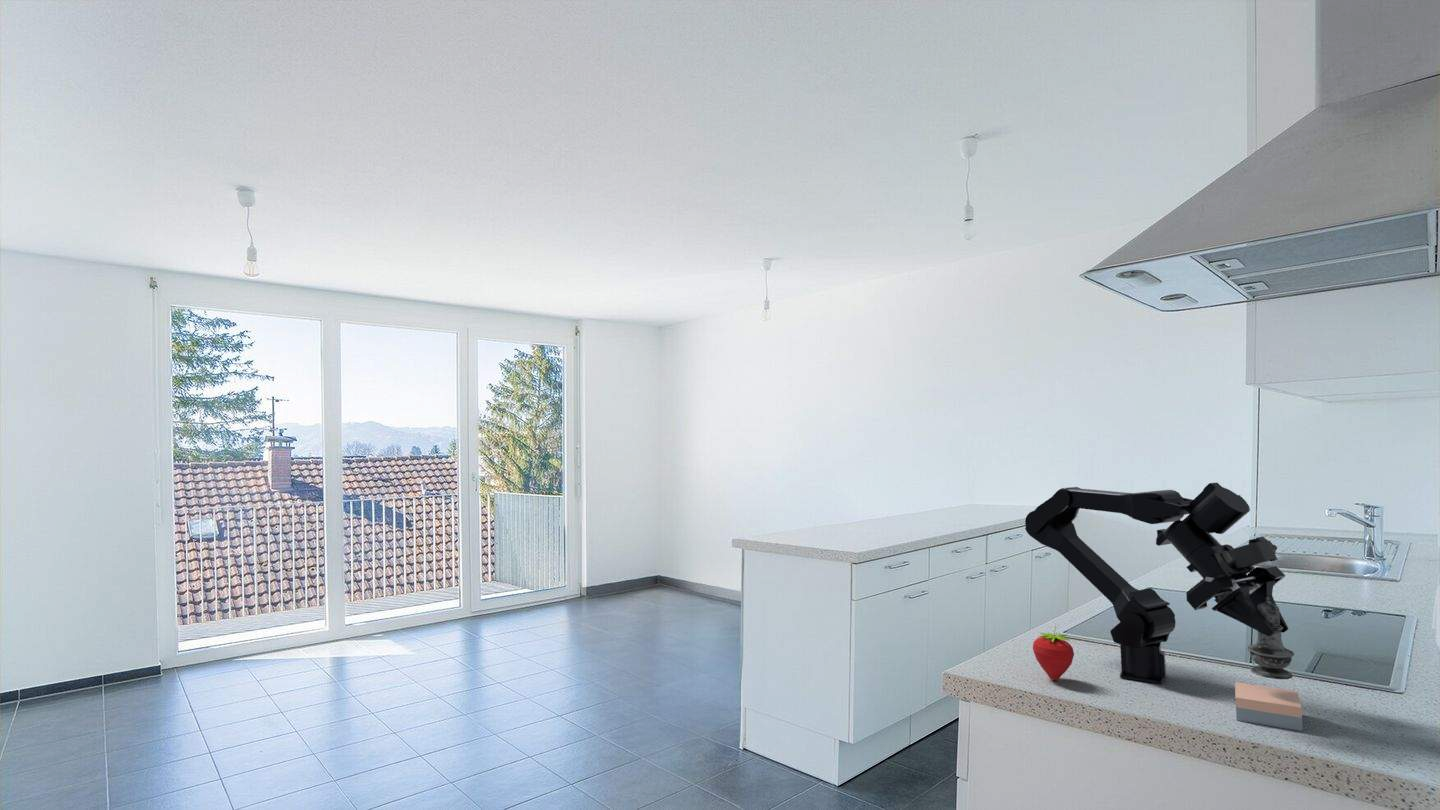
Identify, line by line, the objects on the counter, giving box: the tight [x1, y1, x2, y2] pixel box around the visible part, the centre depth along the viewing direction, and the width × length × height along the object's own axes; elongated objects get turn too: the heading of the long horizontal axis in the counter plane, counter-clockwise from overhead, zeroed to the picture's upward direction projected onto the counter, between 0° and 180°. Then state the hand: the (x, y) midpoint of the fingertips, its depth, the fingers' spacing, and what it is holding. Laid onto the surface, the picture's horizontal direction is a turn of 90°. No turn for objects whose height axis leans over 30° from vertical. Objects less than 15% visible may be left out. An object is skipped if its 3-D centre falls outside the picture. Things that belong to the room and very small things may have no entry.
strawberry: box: [1032, 625, 1075, 681], centre depth 131 cm, size 6×8×10 cm
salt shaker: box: [1246, 597, 1295, 680], centre depth 113 cm, size 6×6×12 cm
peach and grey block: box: [1234, 681, 1304, 732], centre depth 113 cm, size 8×8×4 cm
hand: (1278, 632), depth 112 cm, fingers closed on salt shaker, 4 cm apart
